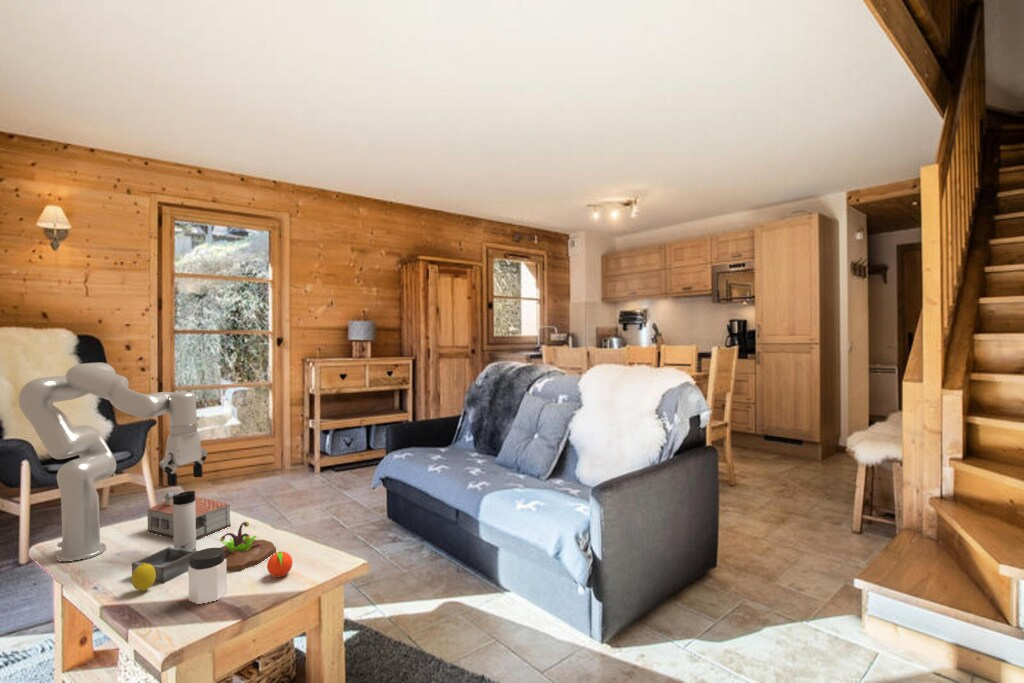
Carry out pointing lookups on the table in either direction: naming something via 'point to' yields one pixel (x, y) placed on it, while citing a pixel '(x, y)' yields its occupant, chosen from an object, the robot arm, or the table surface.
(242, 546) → the plant
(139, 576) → the lemon
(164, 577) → the grey tray
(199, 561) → the jar
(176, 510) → the travel mug
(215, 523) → the model house
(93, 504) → the robot arm
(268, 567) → the clementine
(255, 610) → the table surface
